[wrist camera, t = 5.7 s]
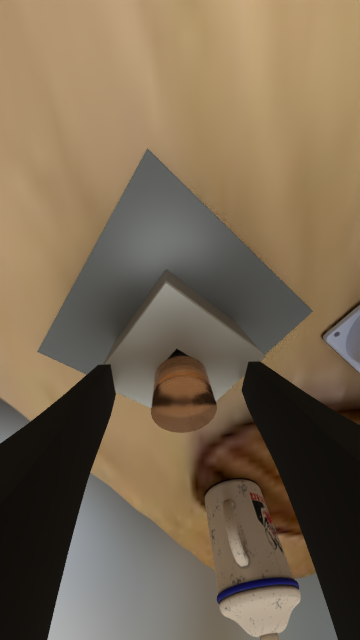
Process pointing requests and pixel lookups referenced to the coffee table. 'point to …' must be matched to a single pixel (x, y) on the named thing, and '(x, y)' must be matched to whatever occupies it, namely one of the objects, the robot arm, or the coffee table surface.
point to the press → (170, 293)
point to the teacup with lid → (249, 560)
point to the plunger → (182, 394)
